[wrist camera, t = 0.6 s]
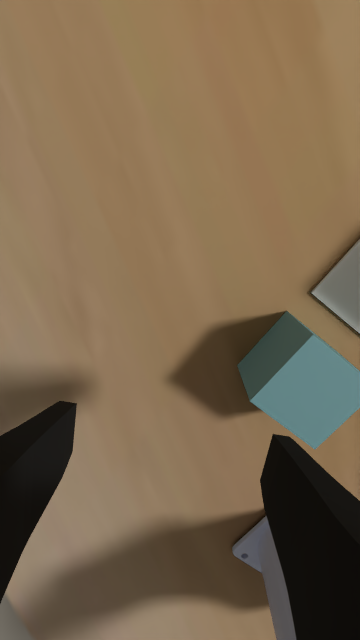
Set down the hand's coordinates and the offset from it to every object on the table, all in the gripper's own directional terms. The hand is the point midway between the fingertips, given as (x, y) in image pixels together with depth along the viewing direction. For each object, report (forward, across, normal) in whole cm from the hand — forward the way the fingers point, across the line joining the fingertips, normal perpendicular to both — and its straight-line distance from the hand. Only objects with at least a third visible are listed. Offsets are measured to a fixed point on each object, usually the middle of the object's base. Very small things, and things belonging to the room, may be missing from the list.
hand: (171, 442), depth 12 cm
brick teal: (+10, -7, 0) cm, 12 cm away
